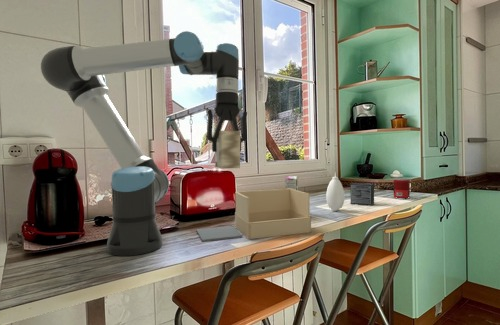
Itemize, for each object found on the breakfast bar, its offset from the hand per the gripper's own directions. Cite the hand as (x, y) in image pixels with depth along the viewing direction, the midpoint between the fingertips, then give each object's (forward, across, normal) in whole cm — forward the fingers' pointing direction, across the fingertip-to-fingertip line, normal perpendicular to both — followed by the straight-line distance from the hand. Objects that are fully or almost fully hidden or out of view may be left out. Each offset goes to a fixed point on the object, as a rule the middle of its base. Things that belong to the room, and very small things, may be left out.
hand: (226, 161), depth 101 cm
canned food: (+22, +110, +33) cm, 116 cm away
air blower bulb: (+23, +55, +17) cm, 63 cm away
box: (+2, 0, 0) cm, 2 cm away
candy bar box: (+24, +33, +16) cm, 44 cm away
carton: (+24, +16, -1) cm, 29 cm away
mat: (+24, -3, 0) cm, 25 cm away
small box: (+23, +78, +26) cm, 85 cm away
